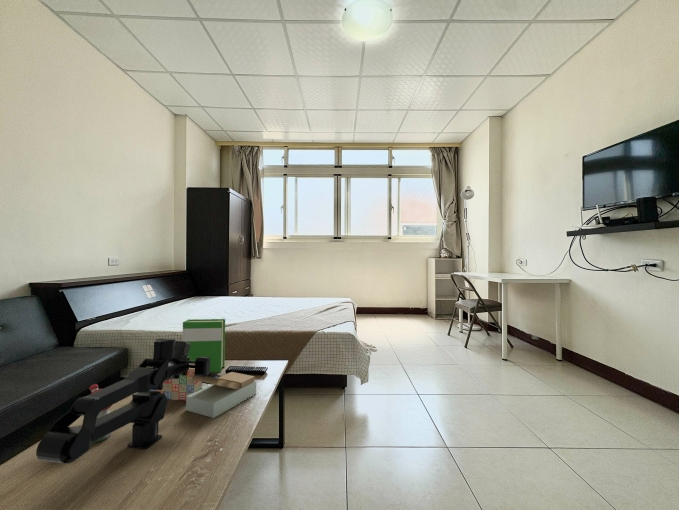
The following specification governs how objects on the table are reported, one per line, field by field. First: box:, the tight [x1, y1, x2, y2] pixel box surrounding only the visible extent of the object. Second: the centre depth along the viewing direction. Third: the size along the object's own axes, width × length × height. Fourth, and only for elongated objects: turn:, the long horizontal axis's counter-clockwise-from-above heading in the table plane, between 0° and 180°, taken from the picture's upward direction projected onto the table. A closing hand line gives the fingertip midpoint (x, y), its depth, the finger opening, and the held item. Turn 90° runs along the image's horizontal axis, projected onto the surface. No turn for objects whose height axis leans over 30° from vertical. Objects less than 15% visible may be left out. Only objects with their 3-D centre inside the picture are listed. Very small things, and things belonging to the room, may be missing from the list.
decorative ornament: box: [88, 383, 113, 444], centre depth 97 cm, size 9×6×15 cm
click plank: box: [192, 374, 240, 389], centre depth 118 cm, size 12×12×2 cm
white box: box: [185, 371, 257, 419], centre depth 121 cm, size 22×13×7 cm, turn 155°
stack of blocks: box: [149, 368, 203, 401], centre depth 126 cm, size 21×6×12 cm, turn 85°
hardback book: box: [181, 318, 226, 373], centre depth 156 cm, size 18×7×24 cm, turn 97°
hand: (197, 360), depth 119 cm, fingers open, 9 cm apart
